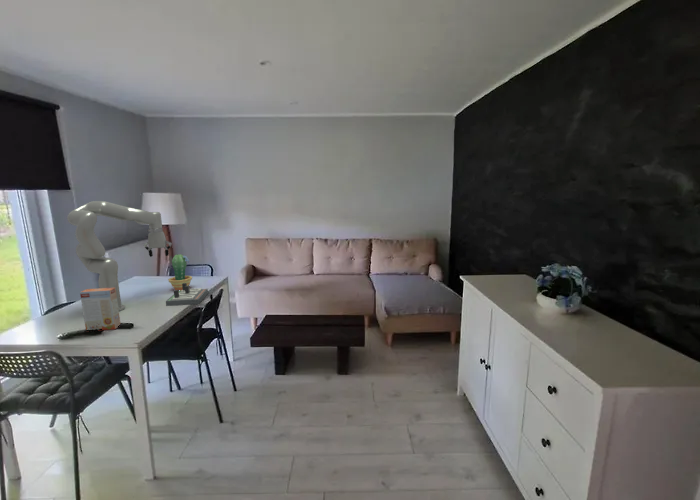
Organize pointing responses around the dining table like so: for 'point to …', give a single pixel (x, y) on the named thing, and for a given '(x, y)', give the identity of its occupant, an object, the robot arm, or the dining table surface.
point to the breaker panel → (187, 296)
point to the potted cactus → (179, 272)
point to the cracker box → (100, 308)
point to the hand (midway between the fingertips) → (159, 256)
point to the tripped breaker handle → (187, 289)
